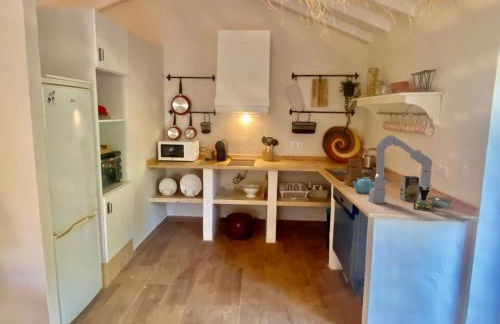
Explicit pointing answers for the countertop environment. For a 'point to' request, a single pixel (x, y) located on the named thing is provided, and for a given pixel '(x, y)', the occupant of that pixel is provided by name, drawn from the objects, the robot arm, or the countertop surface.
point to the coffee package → (353, 171)
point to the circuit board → (422, 201)
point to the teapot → (363, 185)
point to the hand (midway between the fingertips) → (423, 199)
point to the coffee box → (409, 188)
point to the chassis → (423, 207)
